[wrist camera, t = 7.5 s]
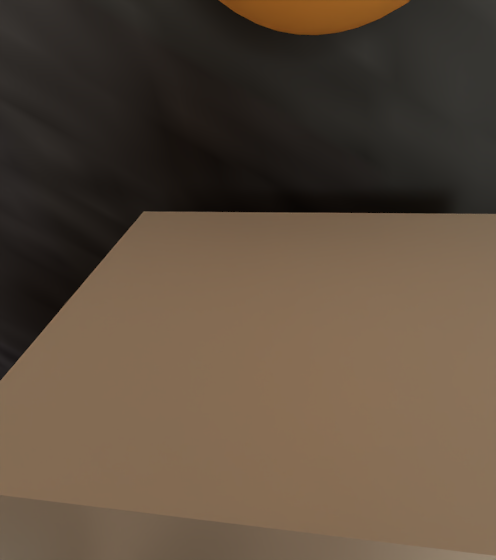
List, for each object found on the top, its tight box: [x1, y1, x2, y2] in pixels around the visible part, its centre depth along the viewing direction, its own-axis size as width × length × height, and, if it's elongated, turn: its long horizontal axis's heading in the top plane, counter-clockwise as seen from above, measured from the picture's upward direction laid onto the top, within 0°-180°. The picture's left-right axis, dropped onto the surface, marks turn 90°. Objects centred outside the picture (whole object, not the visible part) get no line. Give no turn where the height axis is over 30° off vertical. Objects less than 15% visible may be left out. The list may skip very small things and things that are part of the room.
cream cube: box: [0, 211, 496, 560], centre depth 8 cm, size 8×8×7 cm
